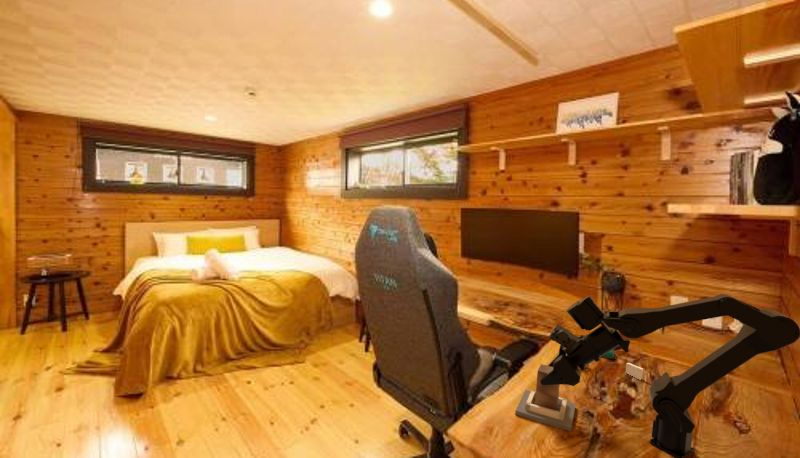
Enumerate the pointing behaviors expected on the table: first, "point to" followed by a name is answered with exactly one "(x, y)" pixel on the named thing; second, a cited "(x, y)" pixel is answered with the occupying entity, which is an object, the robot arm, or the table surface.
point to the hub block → (546, 390)
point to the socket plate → (546, 411)
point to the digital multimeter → (609, 354)
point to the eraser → (634, 371)
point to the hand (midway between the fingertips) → (544, 376)
